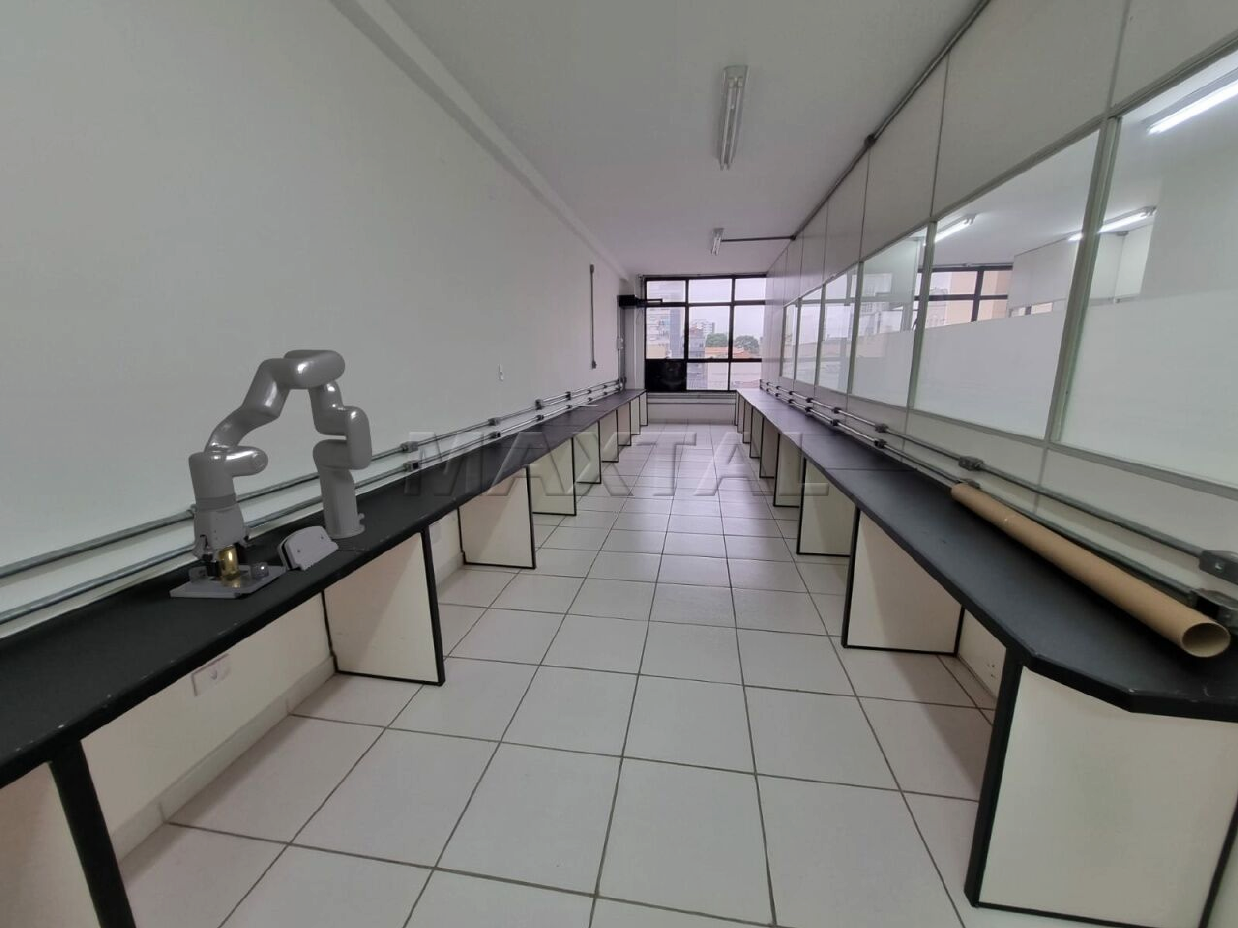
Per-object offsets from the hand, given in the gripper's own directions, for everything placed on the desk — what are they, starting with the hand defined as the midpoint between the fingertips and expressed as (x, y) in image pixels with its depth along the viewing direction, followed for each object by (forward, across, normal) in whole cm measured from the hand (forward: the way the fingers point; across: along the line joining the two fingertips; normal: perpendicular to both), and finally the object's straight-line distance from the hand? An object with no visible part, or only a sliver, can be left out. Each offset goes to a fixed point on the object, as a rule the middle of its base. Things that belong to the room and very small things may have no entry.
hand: (228, 568), depth 120 cm
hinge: (+5, -18, +8) cm, 20 cm away
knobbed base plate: (+5, 0, 0) cm, 5 cm away
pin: (+5, 0, 0) cm, 5 cm away
